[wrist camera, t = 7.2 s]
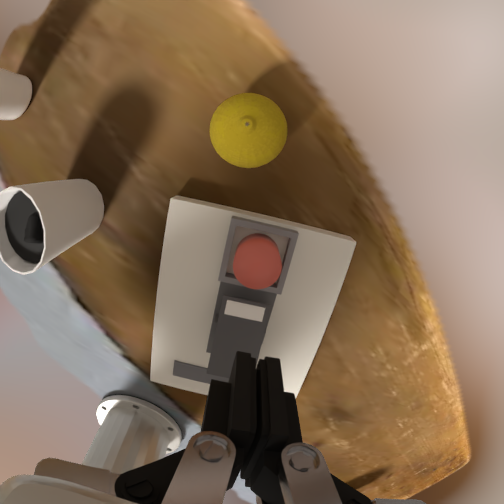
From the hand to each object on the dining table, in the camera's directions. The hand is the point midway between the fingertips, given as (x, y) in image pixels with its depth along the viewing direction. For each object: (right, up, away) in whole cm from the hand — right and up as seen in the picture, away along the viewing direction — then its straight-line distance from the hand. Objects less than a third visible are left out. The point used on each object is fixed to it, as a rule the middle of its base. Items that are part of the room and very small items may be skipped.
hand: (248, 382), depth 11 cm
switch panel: (-1, -1, +18) cm, 18 cm away
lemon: (0, +15, +14) cm, 20 cm away
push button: (+1, +5, +14) cm, 15 cm away
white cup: (-17, +10, +15) cm, 25 cm away
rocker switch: (-1, -2, +14) cm, 14 cm away
